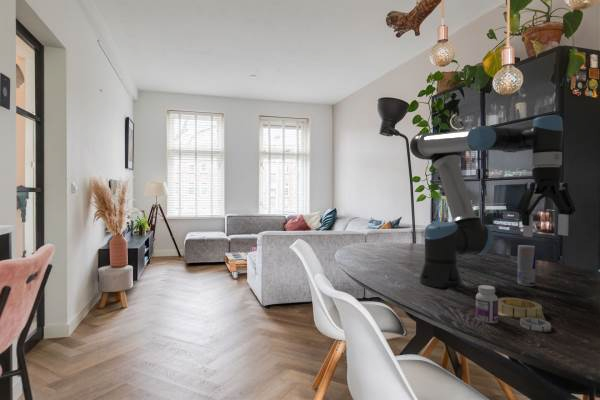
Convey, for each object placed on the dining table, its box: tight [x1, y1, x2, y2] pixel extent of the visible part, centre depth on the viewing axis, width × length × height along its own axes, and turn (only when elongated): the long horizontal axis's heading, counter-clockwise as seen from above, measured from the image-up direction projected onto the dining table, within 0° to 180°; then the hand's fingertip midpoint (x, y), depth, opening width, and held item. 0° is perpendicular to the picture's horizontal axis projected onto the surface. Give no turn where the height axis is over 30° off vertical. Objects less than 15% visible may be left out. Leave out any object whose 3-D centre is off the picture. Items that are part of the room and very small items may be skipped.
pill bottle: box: [475, 284, 499, 324], centre depth 96 cm, size 5×5×10 cm
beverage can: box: [517, 244, 536, 287], centre depth 134 cm, size 6×6×15 cm
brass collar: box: [498, 297, 543, 319], centre depth 102 cm, size 11×11×2 cm
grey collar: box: [519, 317, 552, 333], centre depth 90 cm, size 6×6×2 cm
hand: (545, 235), depth 109 cm, fingers open, 13 cm apart
